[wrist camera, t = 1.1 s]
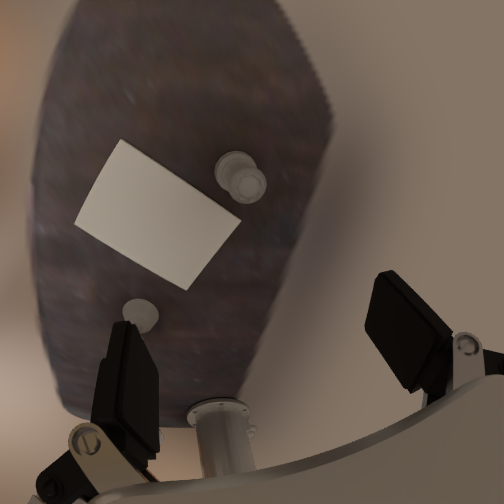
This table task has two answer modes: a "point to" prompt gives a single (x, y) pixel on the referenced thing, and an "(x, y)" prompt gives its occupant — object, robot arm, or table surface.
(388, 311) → the robot arm
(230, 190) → the rook chess piece
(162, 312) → the table surface
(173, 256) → the grey mat
